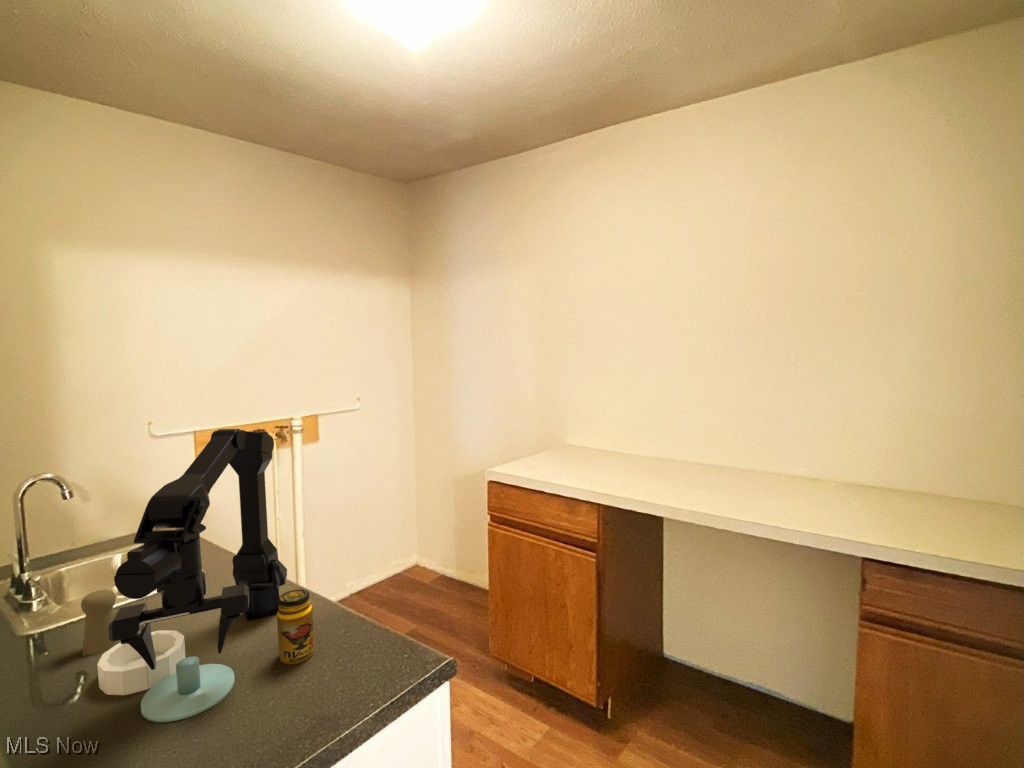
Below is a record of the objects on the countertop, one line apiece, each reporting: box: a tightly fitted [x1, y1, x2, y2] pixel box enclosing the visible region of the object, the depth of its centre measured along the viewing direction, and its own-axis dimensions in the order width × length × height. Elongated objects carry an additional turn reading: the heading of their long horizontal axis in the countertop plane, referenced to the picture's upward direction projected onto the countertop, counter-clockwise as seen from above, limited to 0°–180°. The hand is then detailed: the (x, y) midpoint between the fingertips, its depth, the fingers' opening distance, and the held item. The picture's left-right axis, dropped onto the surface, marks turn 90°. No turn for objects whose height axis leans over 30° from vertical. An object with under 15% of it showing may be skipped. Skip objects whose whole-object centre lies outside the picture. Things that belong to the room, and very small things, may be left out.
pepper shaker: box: [80, 588, 120, 657], centre depth 98 cm, size 6×6×11 cm
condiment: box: [276, 588, 316, 665], centre depth 94 cm, size 7×8×12 cm
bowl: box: [96, 629, 187, 696], centre depth 90 cm, size 12×12×4 cm
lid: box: [140, 656, 235, 723], centre depth 84 cm, size 13×13×5 cm
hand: (187, 660), depth 84 cm, fingers open, 9 cm apart
